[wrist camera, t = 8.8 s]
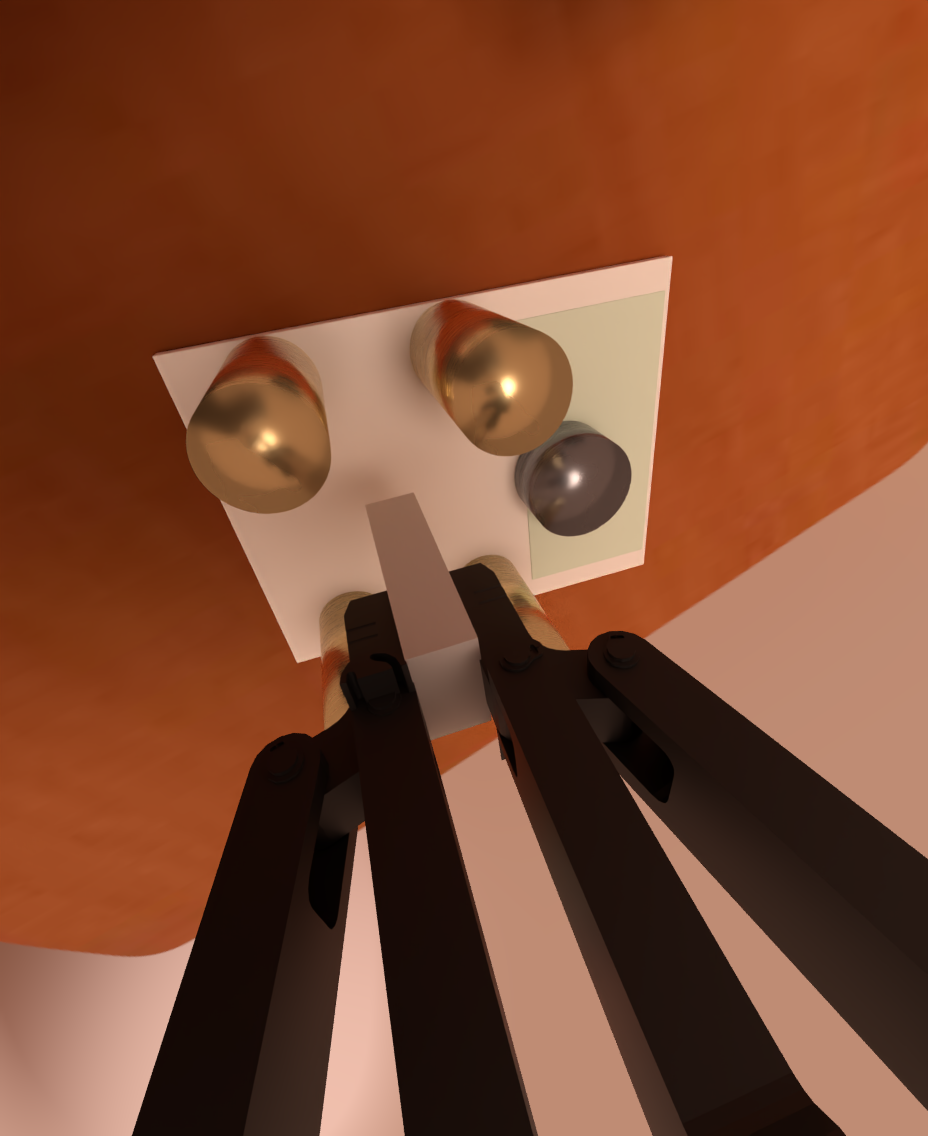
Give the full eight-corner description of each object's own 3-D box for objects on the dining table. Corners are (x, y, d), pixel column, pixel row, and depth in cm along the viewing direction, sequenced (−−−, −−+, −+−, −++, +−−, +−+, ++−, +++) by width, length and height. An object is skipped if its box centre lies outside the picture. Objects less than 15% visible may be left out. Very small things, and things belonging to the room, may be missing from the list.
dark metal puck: (520, 421, 19) (541, 439, 17) (615, 419, 20) (642, 435, 18) (509, 516, 21) (526, 540, 19) (595, 510, 22) (618, 532, 20)
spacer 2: (309, 602, 21) (313, 714, 16) (380, 583, 21) (404, 686, 16) (330, 653, 22) (339, 768, 18) (395, 634, 23) (421, 741, 18)
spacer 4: (450, 564, 21) (494, 658, 17) (515, 547, 22) (577, 635, 17) (457, 616, 23) (500, 716, 18) (518, 600, 24) (575, 693, 19)
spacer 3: (401, 308, 16) (445, 342, 11) (491, 291, 16) (572, 315, 11) (418, 403, 17) (464, 468, 13) (500, 385, 18) (573, 441, 13)
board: (156, 353, 15) (151, 356, 15) (663, 255, 17) (673, 256, 17) (297, 655, 23) (297, 664, 22) (637, 559, 25) (644, 564, 25)
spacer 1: (204, 346, 15) (159, 400, 10) (305, 327, 15) (307, 370, 10) (244, 441, 17) (221, 526, 12) (333, 422, 17) (346, 496, 12)
